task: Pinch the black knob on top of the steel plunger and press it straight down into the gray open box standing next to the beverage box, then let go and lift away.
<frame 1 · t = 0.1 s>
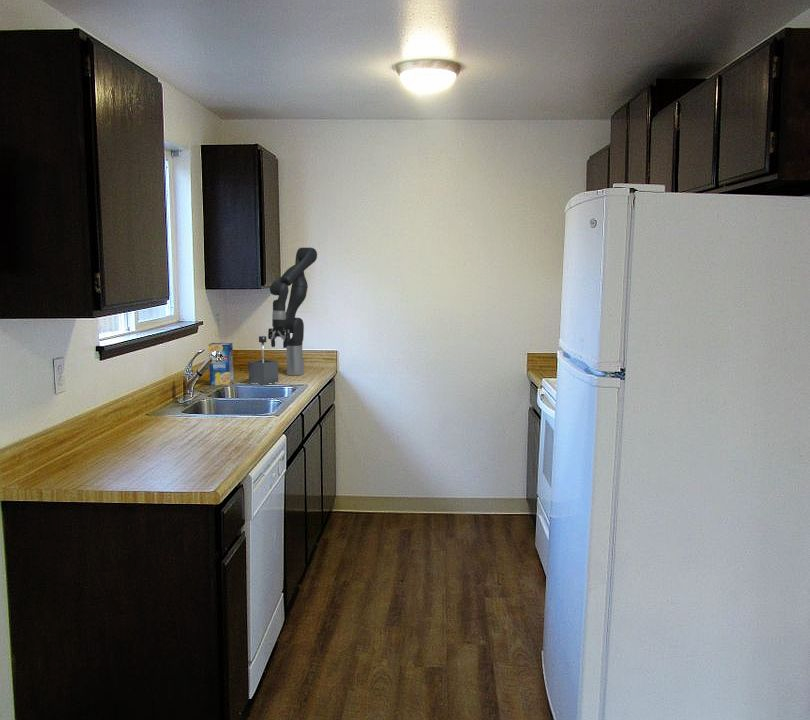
hand: (279, 347, 416), 17 cm above the counter, tool pointing down, fingers open, 8 cm apart
beverage box: (221, 384, 395), on the counter
gray open box: (263, 383, 398), on the counter
plunger: (262, 351, 396), point 18 cm above the counter, slide at 0.0 cm
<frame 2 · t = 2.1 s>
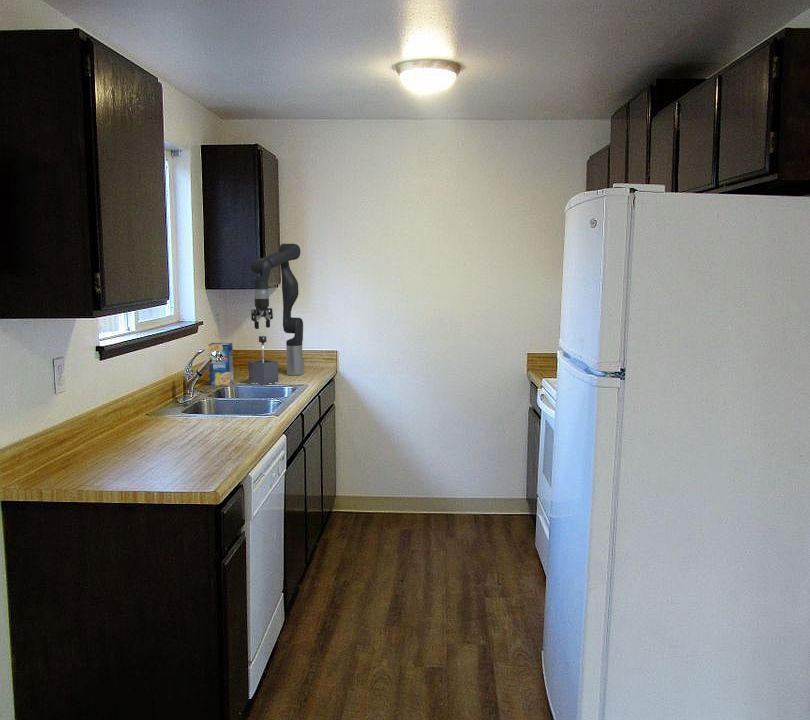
hand: (262, 328, 394), 30 cm above the counter, tool pointing down, fingers open, 8 cm apart
nothing on the counter moved.
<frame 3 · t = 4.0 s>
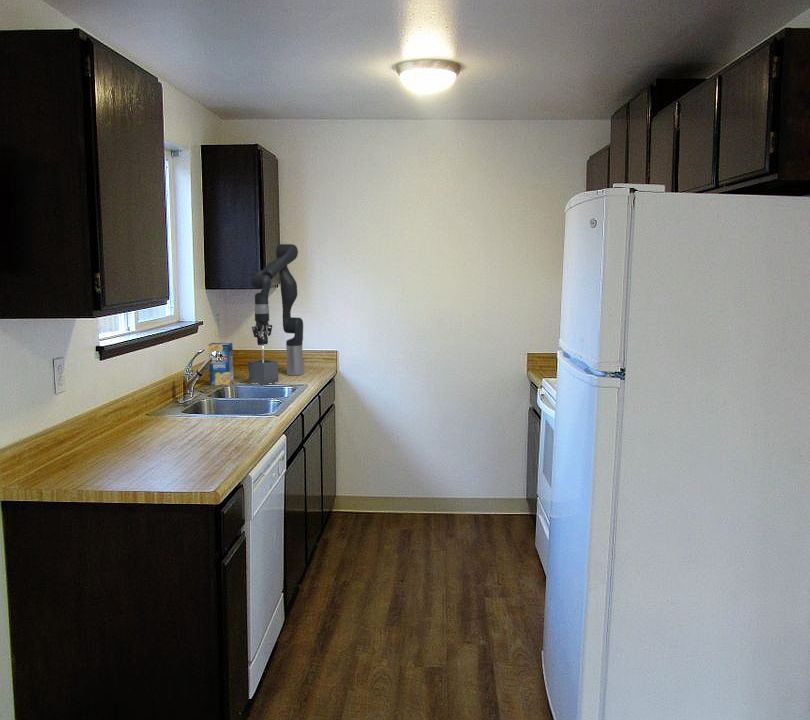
hand: (262, 344, 396), 21 cm above the counter, tool pointing down, fingers closed on plunger, 4 cm apart
plunger: (262, 351, 396), point 18 cm above the counter, slide at 0.0 cm, touching gripper
everything else where it was.
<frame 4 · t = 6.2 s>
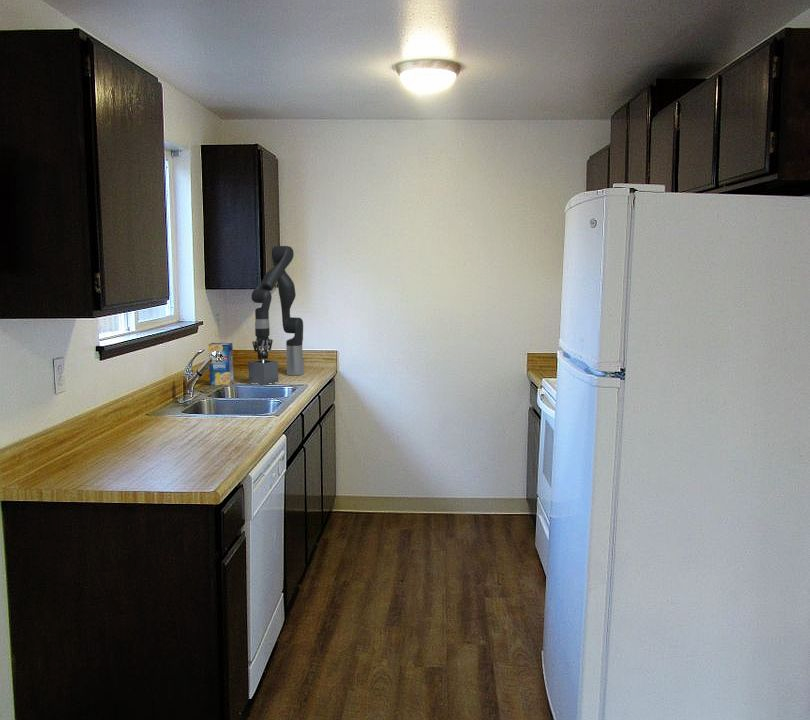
hand: (263, 359, 397), 13 cm above the counter, tool pointing down, fingers closed on plunger, 4 cm apart
plunger: (263, 365, 397), point 10 cm above the counter, slide at 7.9 cm, touching gripper
everything else where it was.
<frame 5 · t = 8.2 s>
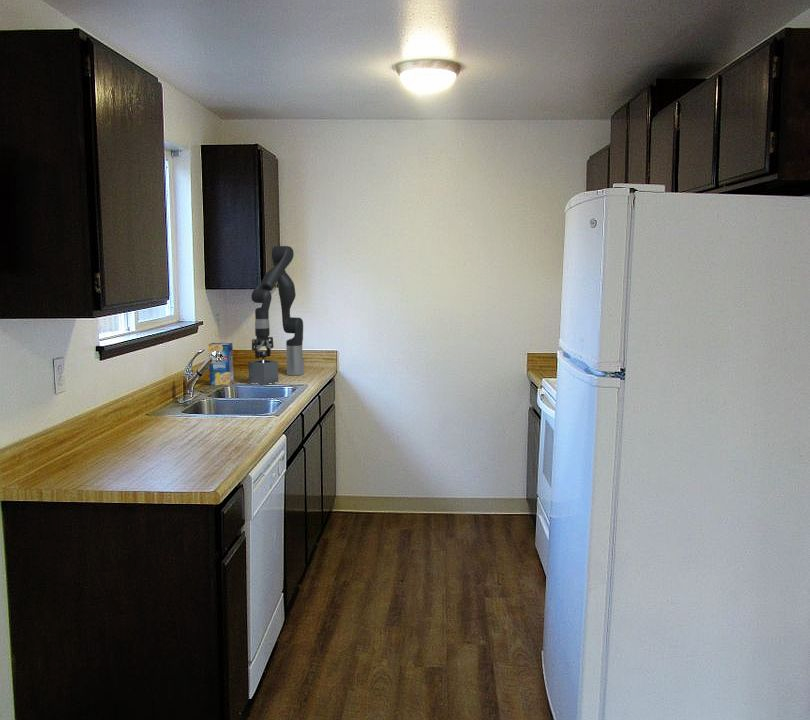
hand: (263, 357, 396), 14 cm above the counter, tool pointing down, fingers open, 8 cm apart
plunger: (263, 366, 397), point 10 cm above the counter, slide at 8.0 cm
everything else where it was.
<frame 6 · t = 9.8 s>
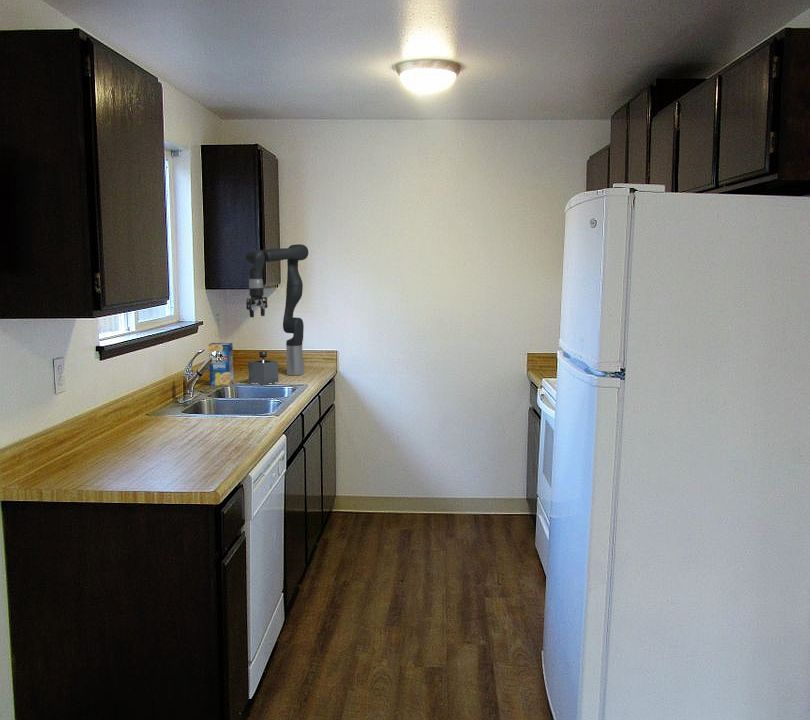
hand: (257, 316, 406), 35 cm above the counter, tool pointing down, fingers open, 8 cm apart
nothing on the counter moved.
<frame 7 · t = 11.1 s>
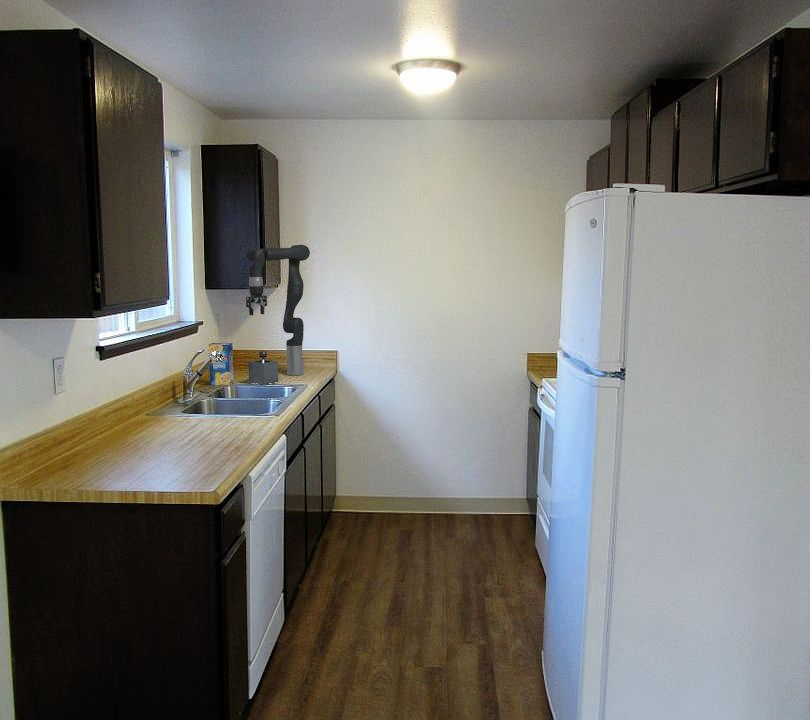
hand: (256, 314, 407), 36 cm above the counter, tool pointing down, fingers open, 8 cm apart
nothing on the counter moved.
at the end: plunger slide at 8.0 cm; the gripper is holding nothing; beverage box moved 0.2 cm from its start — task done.
